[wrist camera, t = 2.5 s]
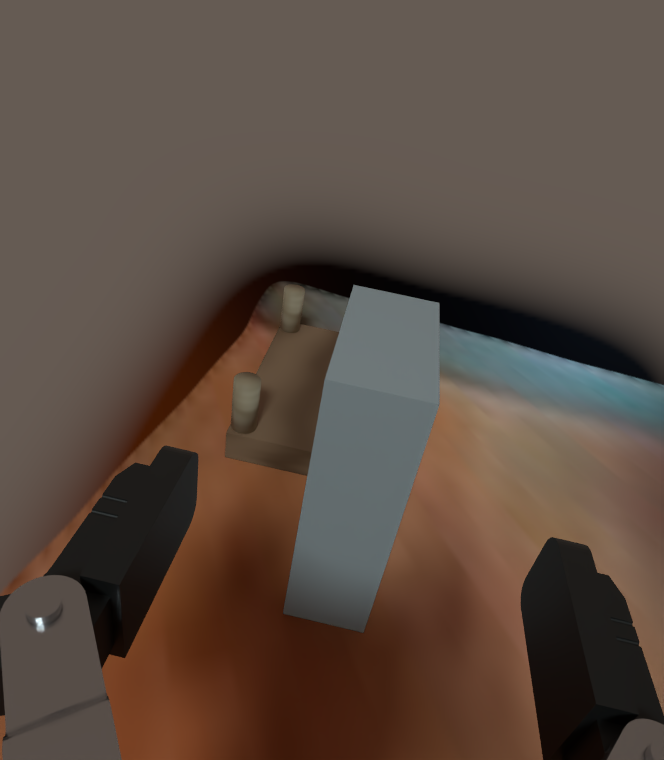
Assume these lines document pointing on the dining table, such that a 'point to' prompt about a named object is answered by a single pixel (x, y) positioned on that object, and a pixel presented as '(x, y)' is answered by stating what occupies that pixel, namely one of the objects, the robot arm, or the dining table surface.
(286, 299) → the peg stand
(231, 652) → the dining table surface
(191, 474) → the robot arm
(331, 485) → the rectangular block
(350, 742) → the dining table surface
